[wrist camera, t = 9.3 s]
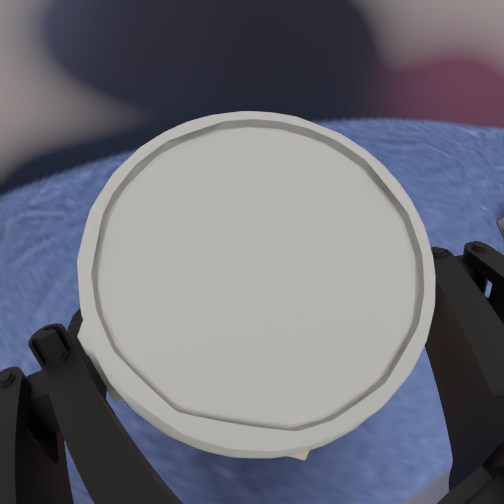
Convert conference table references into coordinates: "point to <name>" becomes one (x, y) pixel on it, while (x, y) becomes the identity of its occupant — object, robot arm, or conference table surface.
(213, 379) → the disposable coffee cup
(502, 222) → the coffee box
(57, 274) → the conference table surface
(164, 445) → the conference table surface
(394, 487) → the conference table surface
